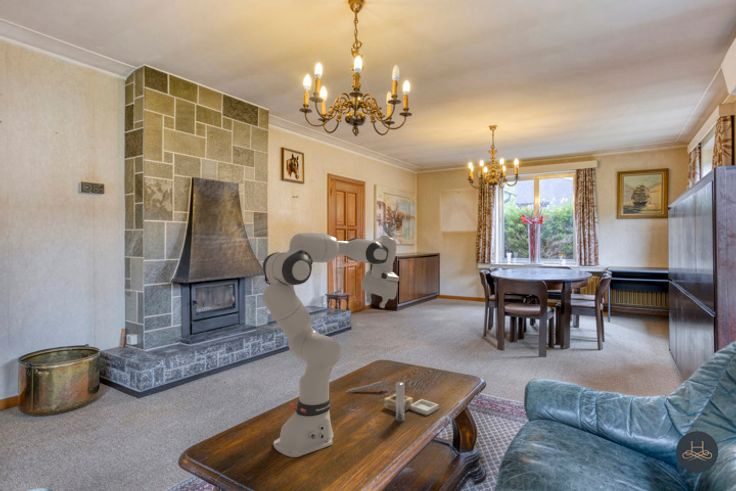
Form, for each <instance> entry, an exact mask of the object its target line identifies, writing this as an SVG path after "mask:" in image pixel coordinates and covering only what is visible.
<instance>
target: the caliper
mask: <svg viewBox="0 0 736 491" xmlns="http://www.w3.org/2000/svg"><path fill="white" fill-rule="evenodd" d="M384 387H385V390H384ZM379 388H380V389H381V391H382V392H385V391H386V392H388V390H389V389H388V382H387V380H386V379H385V378H384V379H381V381H378V382H373V383H371V384H367V385H364V386H363V385H362V386H359V387H355V388H350V389H348V390H346V391H345V393H347V394H349V393H357V392H360V391H364V390H370V389H373V390H376V389H379Z"/></svg>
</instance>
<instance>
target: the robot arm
mask: <svg viewBox="0 0 736 491" xmlns="http://www.w3.org/2000/svg"><path fill="white" fill-rule="evenodd" d="M397 246H398V244H397V241H396V239H394V238H393V237H390V236H387V235H380V237H378V238H376V239H372V240H368V239H363V238H359V237H353V238H350V239H348V240H347V239H346V240H337V238H336V237H335V236H332V235H330V234H327V233H321V232H320V233H319V232H303V233H302V232H301V233H297V234H294V235H293V236H292V237H291V239H290V241H289V249H288V250H287V251H286V252H278V251H277V252H273V253H270V254H269V255H267V256H266V257H265V259H264V260H263V262H262V271H263V274H264V282H265V283H266V284H267V285H268V286H267V287H266V288H265V289H264V291H263V293H262V299H263V301H264V303H265V305H266V308H267V309H268V311H269V313H270V315H271V316H272V318H273V319H274V320H275V322H276V323H277V324H278V326H279V328H280V329H281V330H282V332H283V333H284V335H285V338H287V341H288V349H289V351H290V352H291V353H292V354H293V355H294V356H295V357H296V358H297V359H299V360H302V361H305V364H306V369H305V372H304V374H302V375H301V376H300V378H299V382H298V384H299V390H298V391H299V398H298V400H297V403H295V402H290V405H289V407H290V409H292V410H294V411H295V412H294V413H292V415H291V416H290V417H289V418H288V419H287V421H286V422H285V423H284V424H283V425H282V427H281V428H280V433H279V437H278V438H277V439H275V440H274V441H273V448H274V449H275V450H276V451H278V453H280V454H281V455H284V456H287V457H290V458H298V457H302V456H304V455H307V454H310V453H312V452H315V451H316V452H317V451H318V450H322V449H324V448H327V447H330V446H332V445H333V438H334V431H333V427H332V423H331V415H330V409H331V398H330V378H331V373H332V370H333V368H334V366H336V365H337V364H338V363H339V361H340V359H341V356H342V347H341V345H340V343H339V342H338V341H336V340H335V339H333V338H332V337H331V336H327V335H325V334H321V333H318V332H317V331H316V330H315V329H314V328H313V326H312V317H311V316H312V315H311V314H310V313H309V312H308V310H307V309H306V306H305V305H304V304H303V302H302V301H301V299H300V298H299V296H298V295H297V294H296V291H295V286H299V285H302V284H304V283H306V282H307V281H308V280H309V279H310V277H311V275H312V271H313V270H312V269H313V263H329V262H330V263H331V262H333V261H334V260H336V259H337V257H338V256H343V257H346V258H347V259H349V260H351V261H355V262H361V263H363V264H368V265H372V266H371V270H368V271H366V272H365V275H364V276H363V279H362V283H361V286H360V287H361V290H362V291H364V292H365V298H366V299H365V302H366V303H367V304H371V303H372V300H373V299H372V298H371V297H372V296H371V295H372V294H374V295H377V296H379V297H381V298H382V301H381V302H379V308H382V309H384V308H385V306H386V304H387V302H388V301H389V300H395V298H396V297H397V293H398V287H399V285H398V282H399V281H400V276H398V275H397V274H396V273H395V272H394V271H393V269H394V262H395V259H396V256H397V255H396V254H397Z"/></svg>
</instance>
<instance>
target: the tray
mask: <svg viewBox="0 0 736 491" xmlns="http://www.w3.org/2000/svg"><path fill="white" fill-rule="evenodd" d="M439 406H440V405H439V403H436V402H432V401H430V400H426V399H423V398H421V399H419V400H417V401H415V402H413V404H411V405H410V409H409V410H411V411H413V412H415V413H418V414H421V415H423V416H426V417H427V416H429V415H430V414H432V413H434V412H437V411H438V410H439V409H440V408H439Z"/></svg>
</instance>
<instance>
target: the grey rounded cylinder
mask: <svg viewBox="0 0 736 491" xmlns="http://www.w3.org/2000/svg"><path fill="white" fill-rule="evenodd" d="M405 385H406V384H405V382H403V381H396V382H395V394H396V412H395V421H396V422H399V423H401V422H405V419H406V417H405V413H406V411H405V396H406V395H405V393H406V392H405Z"/></svg>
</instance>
